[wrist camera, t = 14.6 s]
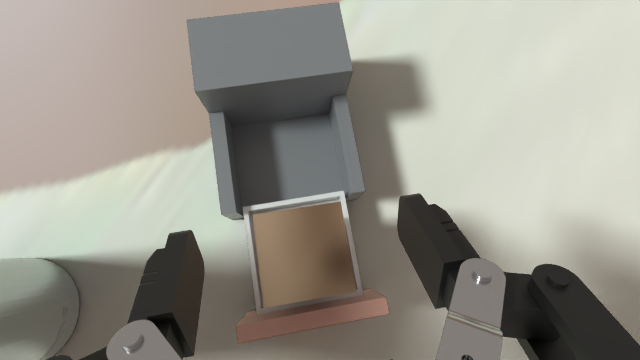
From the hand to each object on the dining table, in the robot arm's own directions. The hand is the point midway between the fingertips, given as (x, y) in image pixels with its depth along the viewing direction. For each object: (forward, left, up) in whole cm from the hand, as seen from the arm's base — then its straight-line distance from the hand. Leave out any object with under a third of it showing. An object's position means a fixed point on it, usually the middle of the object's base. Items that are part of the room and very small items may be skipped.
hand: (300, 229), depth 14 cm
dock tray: (+1, -1, -19) cm, 19 cm away
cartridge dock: (-5, +9, -20) cm, 23 cm away
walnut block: (0, -1, -18) cm, 18 cm away
